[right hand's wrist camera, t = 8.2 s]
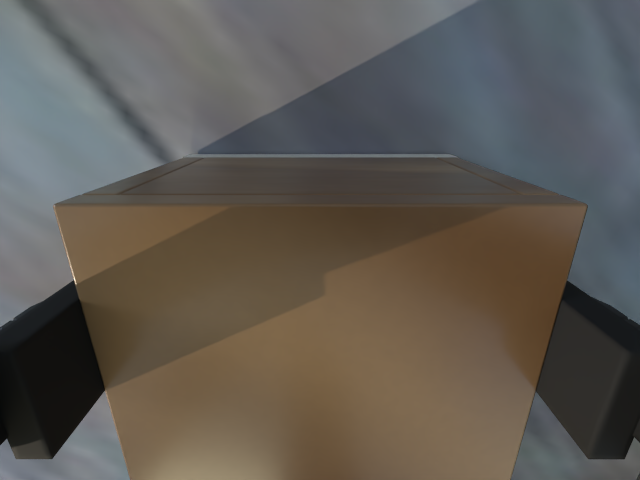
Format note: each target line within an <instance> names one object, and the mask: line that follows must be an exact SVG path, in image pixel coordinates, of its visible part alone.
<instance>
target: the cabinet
mask: <svg viewBox="0 0 640 480" xmlns="http://www.w3.org/2000/svg"><path fill="white" fill-rule="evenodd" d="M53 208H54V211H55V215H56V218H57V222H58V226H59V229H60V233H61V236H62V240H63V243H64V247H65V250H66V254H67V257H68V261H69V264H70V268H71V272H72V275H73V279H74V282H75V286H76V289H77V293H78V296H79V300H80V303H81V307H82V310H83V314H84V318H85V321H86V325H87V328H88V332H89V335H90V339H91V342H92V346H93V349H94V353H95V356H96V360H97V364H98V367H99V371H100V374H101V378H102V381H103V385H104V388H105V392H106V395H107V399H108V402H109V406H110V410H111V413H112V417H113V420H114V424H115V427H116V431H117V434H118V438H119V441H120V445H121V448H122V452H123V456H124V459H125V463H126V466H127V470H128V473H129V477H130V480H511V477H512V473H513V470H514V466H515V463H516V459H517V456H518V452H519V449H520V445H521V441H522V438H523V434H524V431H525V427H526V424H527V420H528V417H529V413H530V410H531V406H532V402H533V399H534V395H535V392H536V388H537V385H538V381H539V378H540V374H541V371H542V367H543V363H544V360H545V356H546V353H547V349H548V346H549V342H550V339H551V335H552V332H553V328H554V325H555V321H556V317H557V314H558V310H559V307H560V303H561V300H562V296H563V293H564V289H565V286H566V282H567V278H568V275H569V271H570V268H571V264H572V261H573V257H574V254H575V250H576V247H577V243H578V240H579V236H580V232H581V229H582V225H583V222H584V218H585V215H586V211H587V208H588V206H587V204H585V203H583V202H580V201H577V200H574V199H571V198H569V197H566V196H563V195H559V194H557V193H554V192H552V191H549V190H546V189H543V188H540V187H538V186H535V185H532V184H529V183H526V182H524V181H521V180H518V179H515V178H512V177H510V176H507V175H504V174H501V173H499V172H496V171H493V170H490V169H487V168H485V167H482V166H479V165H476V164H473V163H471V162H468V161H465V160H462V159H459V158H458V157H457V156H454V155H451V154H190V155H188V156H185V157H183V158H182V159H179V160H176V161H173V162H171V163H168V164H165V165H162V166H159V167H157V168H154V169H151V170H148V171H146V172H143V173H140V174H137V175H134V176H132V177H129V178H126V179H123V180H120V181H118V182H115V183H112V184H109V185H107V186H104V187H101V188H98V189H95V190H93V191H90V192H87V193H84V194H82V195H78V196H75V197H73V198H70V199H67V200H64V201H62V202H59V203H56V204H54V206H53Z"/></svg>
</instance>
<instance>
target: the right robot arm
mask: <svg viewBox="0 0 640 480" xmlns="http://www.w3.org/2000/svg"><path fill="white" fill-rule="evenodd" d="M104 391H105V388H104V385H103V381H102V378H101V374H100V371H99V367H98V364H97V360H96V356H95V353H94V349H93V346H92V342H91V339H90V335H89V332H88V328H87V325H86V321H85V318H84V314H83V310H82V307H81V303H80V300H79V296H78V293H77V289H76V286H75V282H74V280H73V281H72V282H71V283H69V284H68V285H66V286H65V287H63V288H62V289H60V290H59V291H58V292H56V293H55V294H53V295H52V296H50V297H49V298H47V299H46V300H44V301H43V302H40V303H38V304H36V305H34V306H31V307H30V308H28V309H27V310H25V311H24V312H22V313H21V314H19V315H18V316H16V317H15V318H14V320H13V321H9V322H8V323H6V324H5V325H3V326H2V327H0V445H1V444H2V443H3V442H4V441H5V440H6V439H8V442H9V444H10V446H11V449H12V451H13V453H14V456H15V458H16V459H52V458H53V457H54V456H55V455H56V453H57V452H58V451H59V449H60V448H61V447H62V445H63V444H64V443H65V442H66V440H67V439H68V438H69V436H70V435H71V434H72V432H73V431H74V430H75V429H76V427H77V426H78V425H79V423H80V422H81V421H82V419H83V418H84V417H85V416H86V414H87V413H88V412H89V410H90V409H91V408H92V406H93V405H94V404H95V403H96V401H97V400H98V399H99V397H100V396H101V395H102V393H103V392H104ZM536 392H537V393H538V394H539V395H540V397H541V398H542V399H543V401H544V402H545V403H546V405H547V406H548V407H549V409H550V410H551V411H552V412H553V414H554V415H555V416H556V418H557V419H558V420H559V422H560V423H561V424H562V425H563V427H564V428H565V429H566V431H567V432H568V433H569V435H570V436H571V437H572V438H573V440H574V441H575V442H576V444H577V445H578V446H579V448H580V449H581V450H582V451H583V453H584V454H585V455H586V457H587V458H588V459H625V457H626V455H627V452H628V450H629V448H630V445H631V443H632V441H633V438H634V437H635V438H636V439H637V440H638V441H639V442H640V325H639V324H637V323H636V322H634V321H633V320H631V319H628V317H627V316H625V315H624V314H622V313H621V312H619V311H618V310H616V309H615V308H613V307H612V306H610V305H608V304H606V303H603V302H601V301H599V300H597V299H594V298H592V297H590V296H589V295H587V294H586V293H584V292H583V291H582V290H580V289H579V288H577V287H576V286H574V285H573V284H571V283H570V282H568V281H567V282H566V286H565V289H564V293H563V296H562V300H561V303H560V307H559V310H558V314H557V317H556V321H555V325H554V328H553V332H552V335H551V339H550V342H549V346H548V349H547V353H546V356H545V360H544V363H543V367H542V371H541V374H540V378H539V381H538V385H537V388H536ZM637 480H640V473H639V475H638V477H637Z"/></svg>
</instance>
